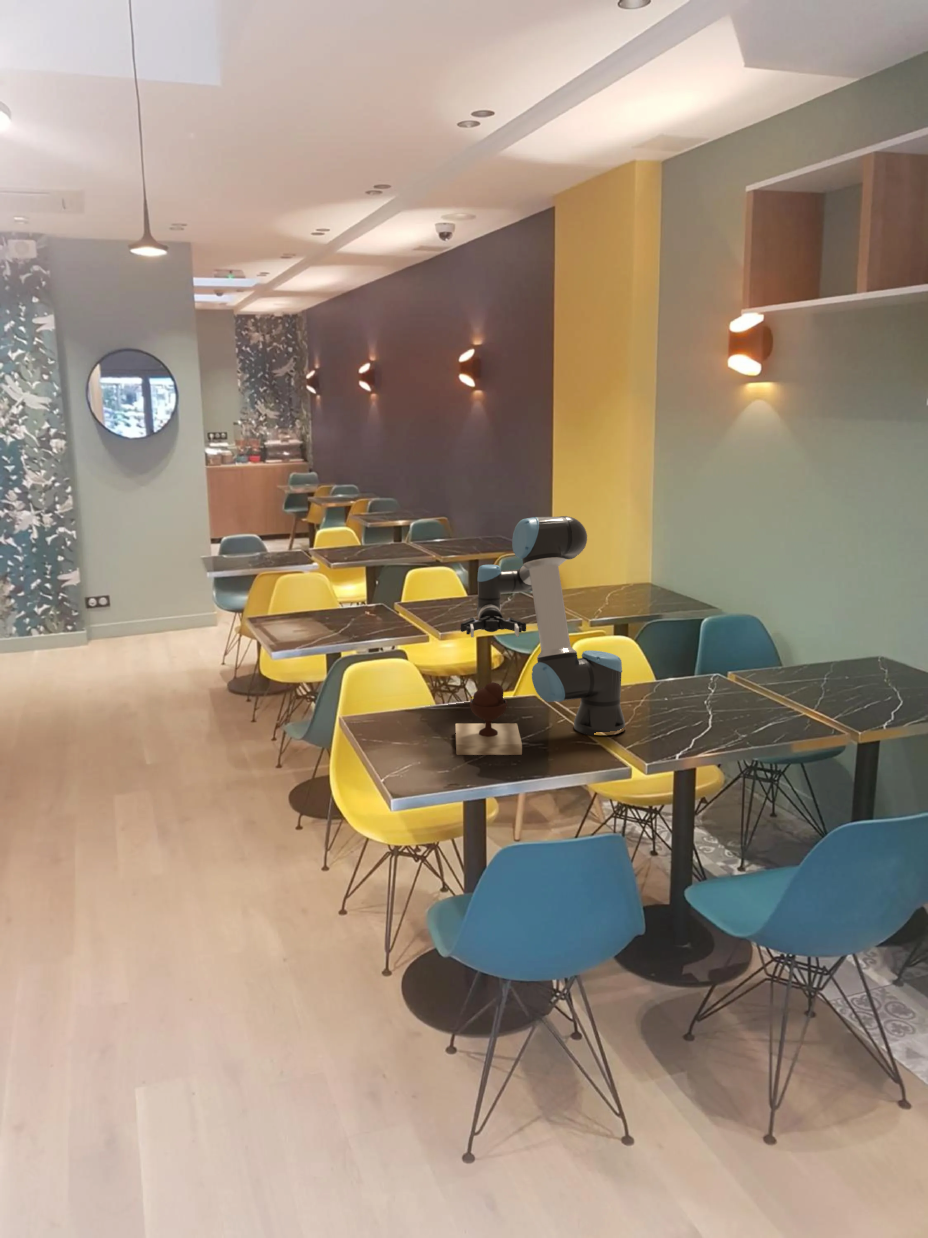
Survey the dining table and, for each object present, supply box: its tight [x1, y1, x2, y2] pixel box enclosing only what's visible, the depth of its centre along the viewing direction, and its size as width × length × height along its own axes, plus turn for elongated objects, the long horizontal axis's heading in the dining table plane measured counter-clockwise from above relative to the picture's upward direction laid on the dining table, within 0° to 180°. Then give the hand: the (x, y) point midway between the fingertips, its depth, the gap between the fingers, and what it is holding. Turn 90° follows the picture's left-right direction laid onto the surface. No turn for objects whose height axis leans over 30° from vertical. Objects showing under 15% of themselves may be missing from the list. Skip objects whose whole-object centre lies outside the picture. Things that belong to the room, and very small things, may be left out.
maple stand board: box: [454, 722, 523, 756], centre depth 279 cm, size 18×18×3 cm
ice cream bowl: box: [469, 682, 509, 737], centre depth 277 cm, size 11×11×15 cm
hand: (495, 632), depth 295 cm, fingers open, 13 cm apart
